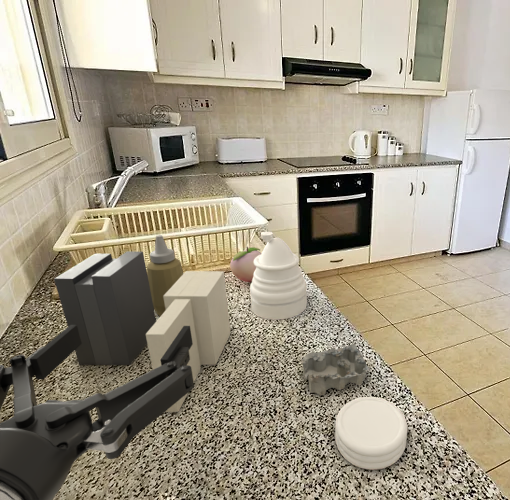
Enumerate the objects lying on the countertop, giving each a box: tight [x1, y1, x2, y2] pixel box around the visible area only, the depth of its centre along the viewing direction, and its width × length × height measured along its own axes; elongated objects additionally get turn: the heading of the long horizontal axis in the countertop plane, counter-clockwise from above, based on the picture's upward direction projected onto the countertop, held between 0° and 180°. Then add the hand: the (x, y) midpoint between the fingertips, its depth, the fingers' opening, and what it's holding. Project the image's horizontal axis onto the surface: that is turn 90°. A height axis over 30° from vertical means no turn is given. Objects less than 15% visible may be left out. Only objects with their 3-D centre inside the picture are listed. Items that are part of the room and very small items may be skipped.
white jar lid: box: [334, 396, 408, 471], centre depth 52 cm, size 10×10×4 cm
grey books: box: [53, 250, 157, 366], centre depth 68 cm, size 9×11×18 cm
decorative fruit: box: [229, 245, 262, 283], centre depth 97 cm, size 9×8×10 cm
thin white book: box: [146, 299, 202, 413], centre depth 59 cm, size 2×10×14 cm, turn 2°
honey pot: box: [249, 231, 308, 321], centre depth 84 cm, size 13×13×18 cm
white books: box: [163, 270, 232, 366], centre depth 69 cm, size 7×10×14 cm
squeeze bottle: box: [146, 234, 185, 318], centre depth 80 cm, size 8×8×18 cm
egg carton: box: [300, 343, 371, 396], centre depth 64 cm, size 11×8×4 cm
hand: (132, 334), depth 46 cm, fingers open, 13 cm apart
